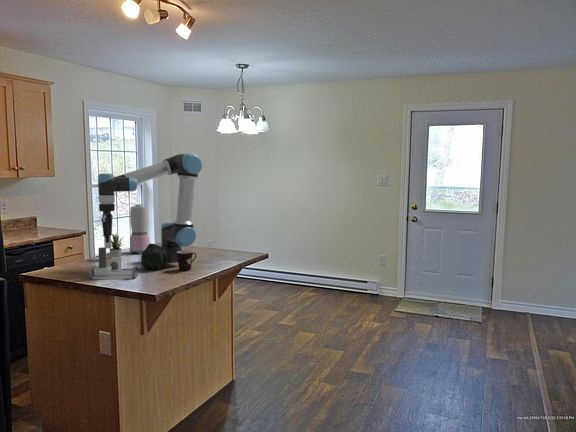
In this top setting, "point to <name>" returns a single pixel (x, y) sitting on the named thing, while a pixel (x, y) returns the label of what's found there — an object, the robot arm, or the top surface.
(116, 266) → the gauge cabinet
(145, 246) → the blender
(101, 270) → the carriage
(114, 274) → the rail base
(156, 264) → the squash
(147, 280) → the top surface
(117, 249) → the house plant
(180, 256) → the coffee mug
